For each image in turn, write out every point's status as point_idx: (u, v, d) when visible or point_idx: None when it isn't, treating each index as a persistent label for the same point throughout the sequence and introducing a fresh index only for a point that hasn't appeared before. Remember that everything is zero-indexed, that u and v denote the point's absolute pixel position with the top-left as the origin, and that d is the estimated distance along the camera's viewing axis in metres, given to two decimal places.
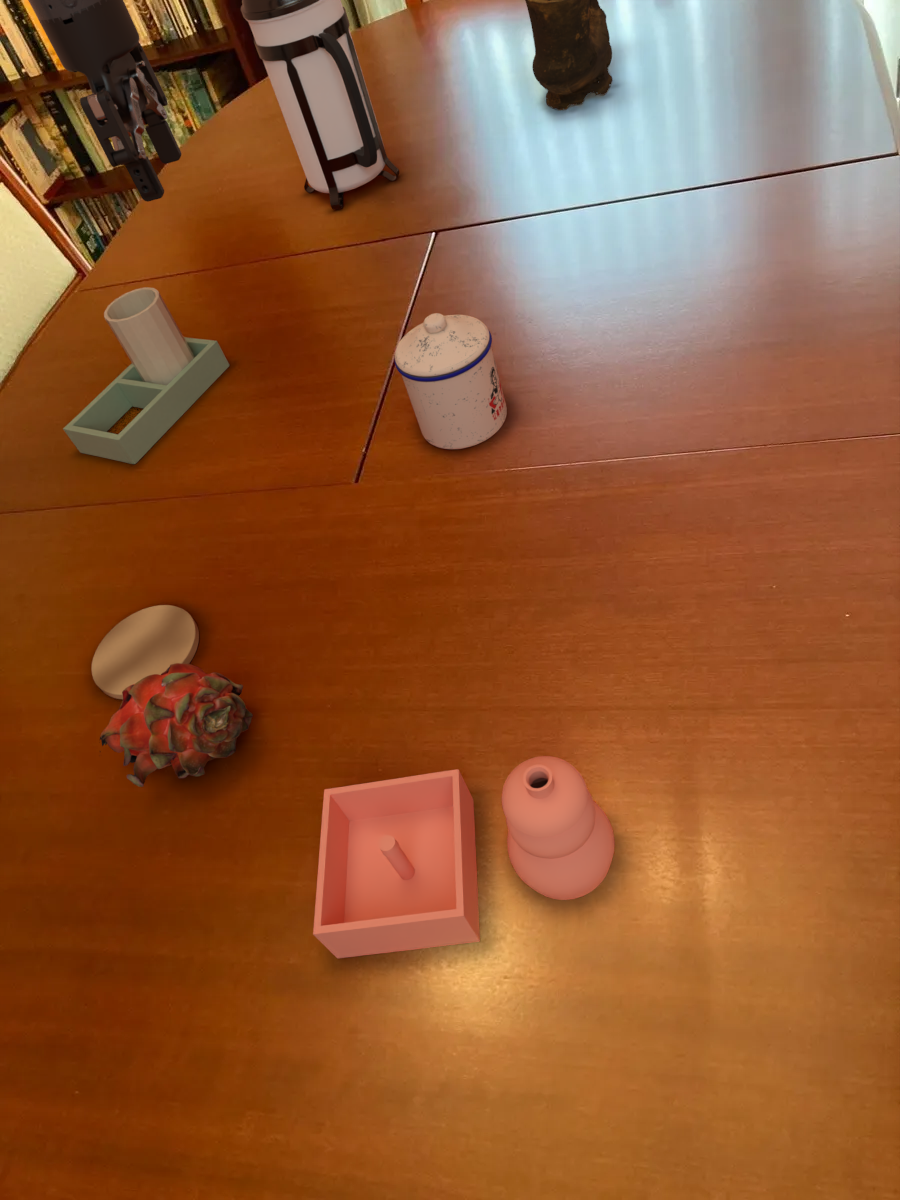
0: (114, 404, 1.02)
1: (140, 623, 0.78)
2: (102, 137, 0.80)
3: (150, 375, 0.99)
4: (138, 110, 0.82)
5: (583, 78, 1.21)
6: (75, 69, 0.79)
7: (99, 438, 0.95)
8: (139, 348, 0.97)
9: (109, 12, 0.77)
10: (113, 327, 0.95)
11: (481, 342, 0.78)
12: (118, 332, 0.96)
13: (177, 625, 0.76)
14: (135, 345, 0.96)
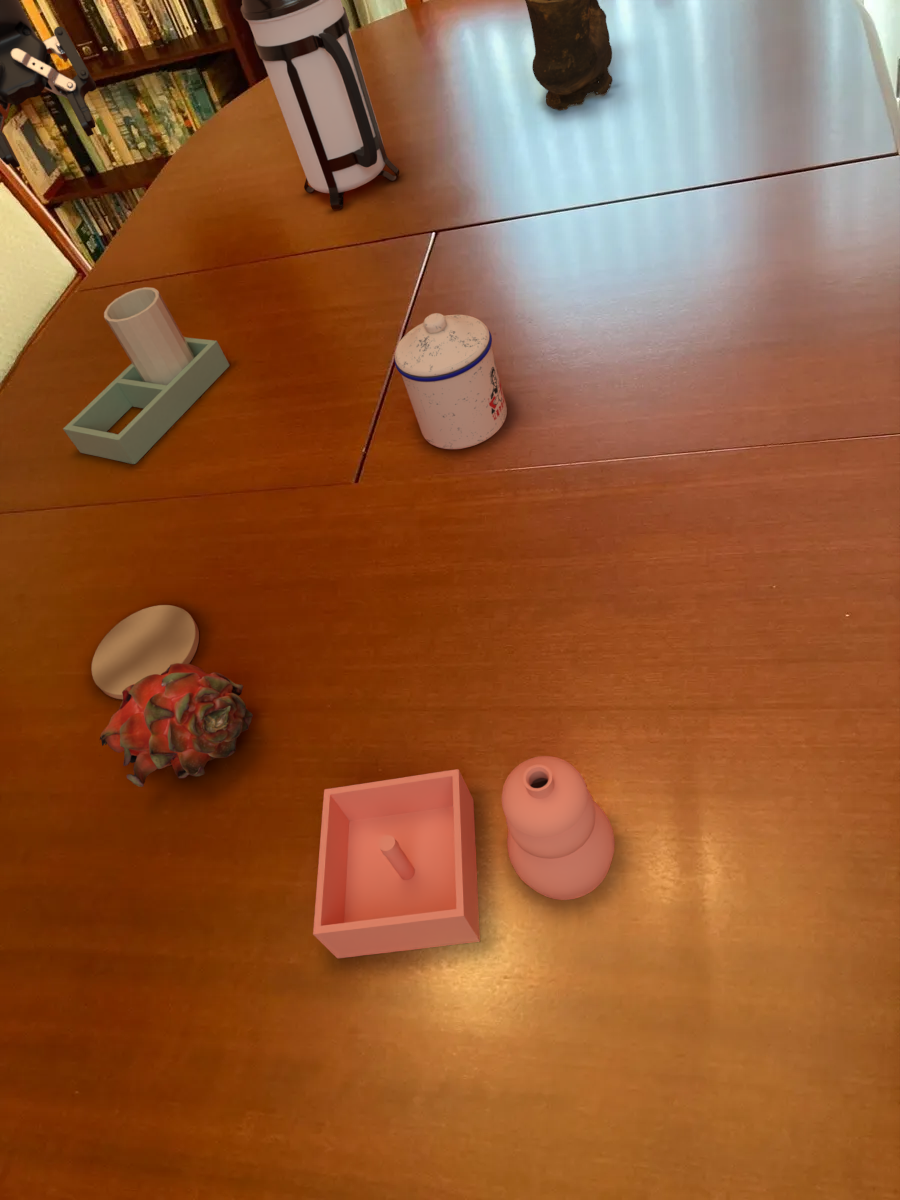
0: (114, 404, 1.02)
1: (140, 623, 0.78)
2: (79, 55, 0.93)
3: (150, 375, 0.99)
4: None
5: (583, 78, 1.21)
6: (23, 21, 0.92)
7: (99, 438, 0.95)
8: (139, 348, 0.97)
9: None
10: (113, 327, 0.95)
11: (481, 342, 0.78)
12: (118, 332, 0.96)
13: (177, 625, 0.76)
14: (135, 345, 0.96)
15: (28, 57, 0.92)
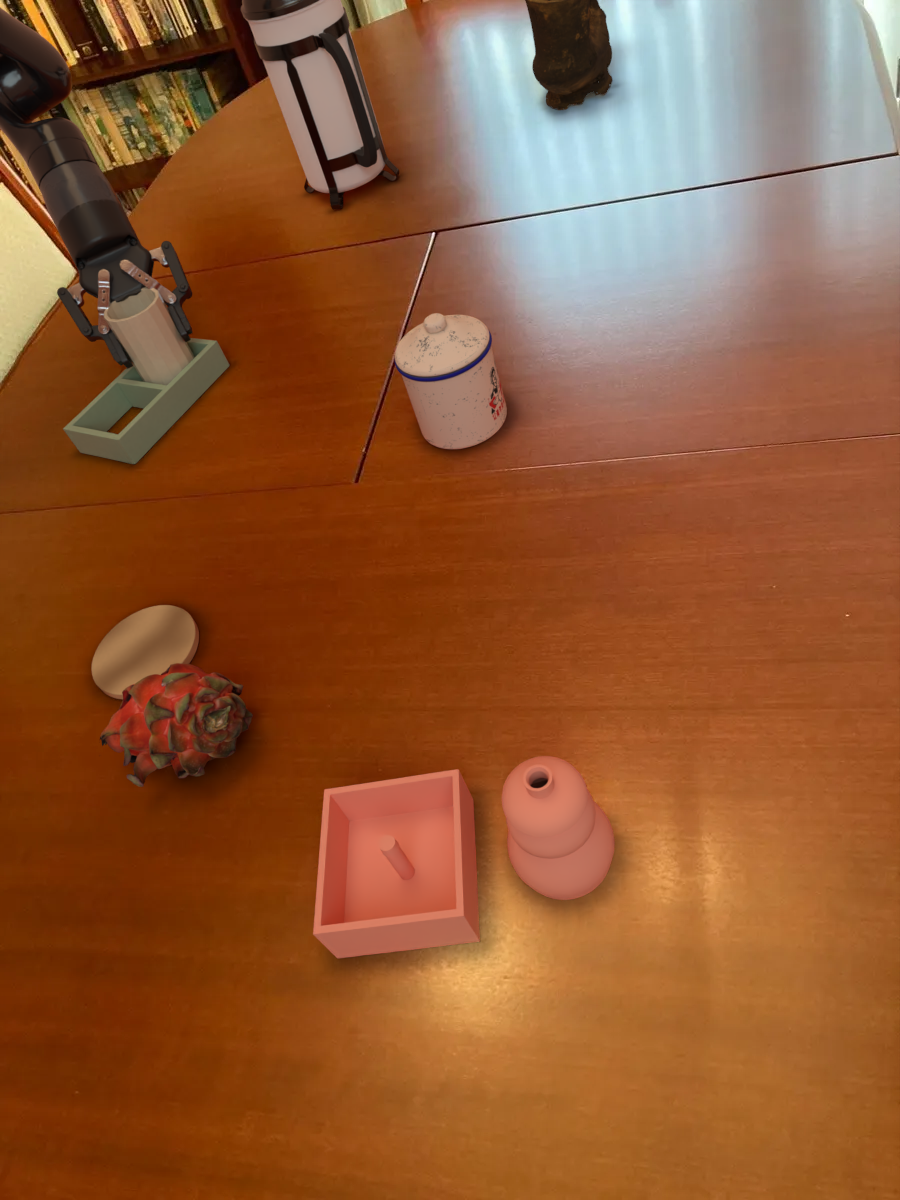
0: (114, 404, 1.02)
1: (140, 623, 0.78)
2: (181, 268, 0.99)
3: (150, 375, 0.99)
4: None
5: (583, 78, 1.21)
6: (131, 234, 0.97)
7: (99, 438, 0.95)
8: (139, 348, 0.97)
9: None
10: (113, 327, 0.95)
11: (481, 342, 0.78)
12: (118, 332, 0.96)
13: (177, 625, 0.76)
14: (135, 345, 0.96)
15: (136, 267, 0.97)
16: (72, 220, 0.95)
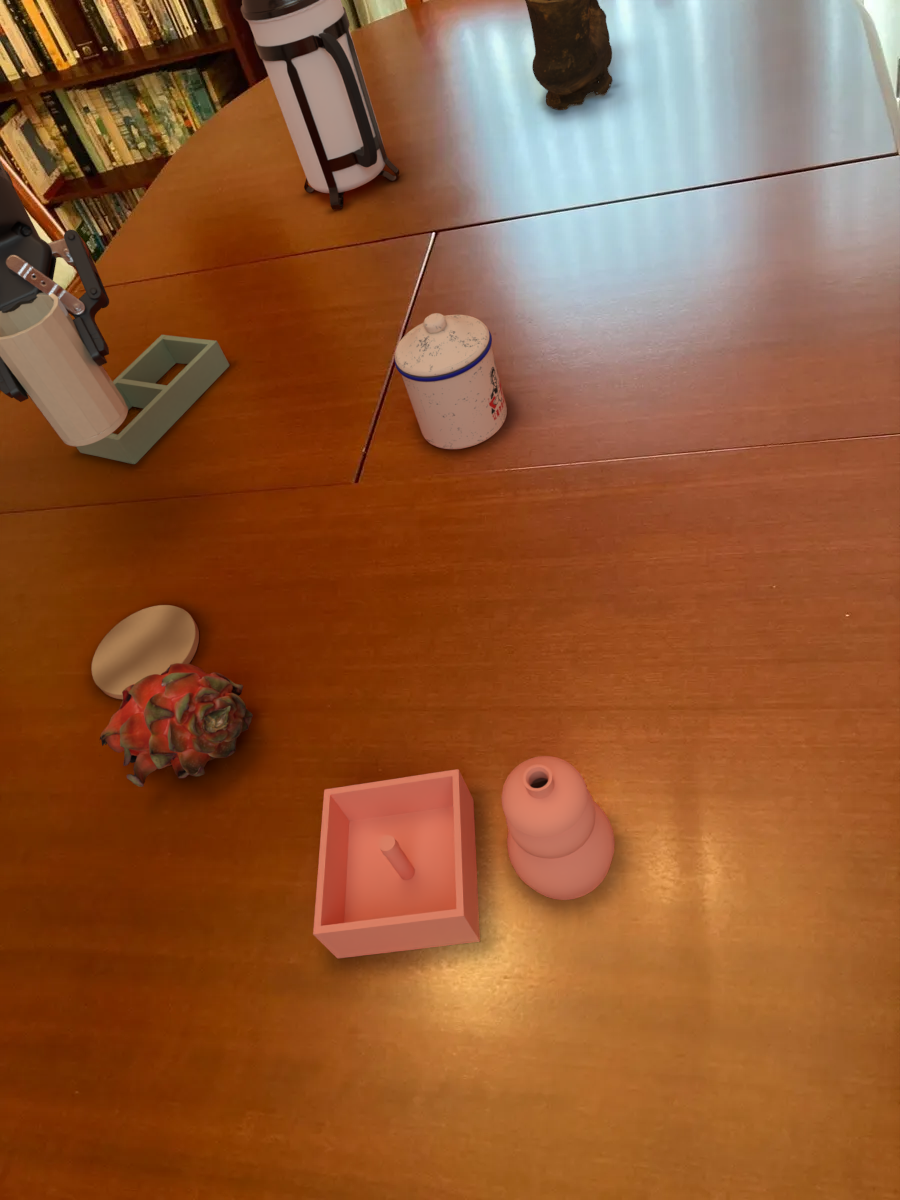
0: None
1: (140, 623, 0.78)
2: (92, 267, 0.73)
3: (51, 411, 0.74)
4: None
5: (583, 78, 1.21)
6: (21, 220, 0.72)
7: None
8: (33, 375, 0.71)
9: None
10: None
11: (481, 342, 0.78)
12: (2, 354, 0.70)
13: (177, 625, 0.76)
14: (27, 371, 0.71)
15: (28, 266, 0.71)
16: None
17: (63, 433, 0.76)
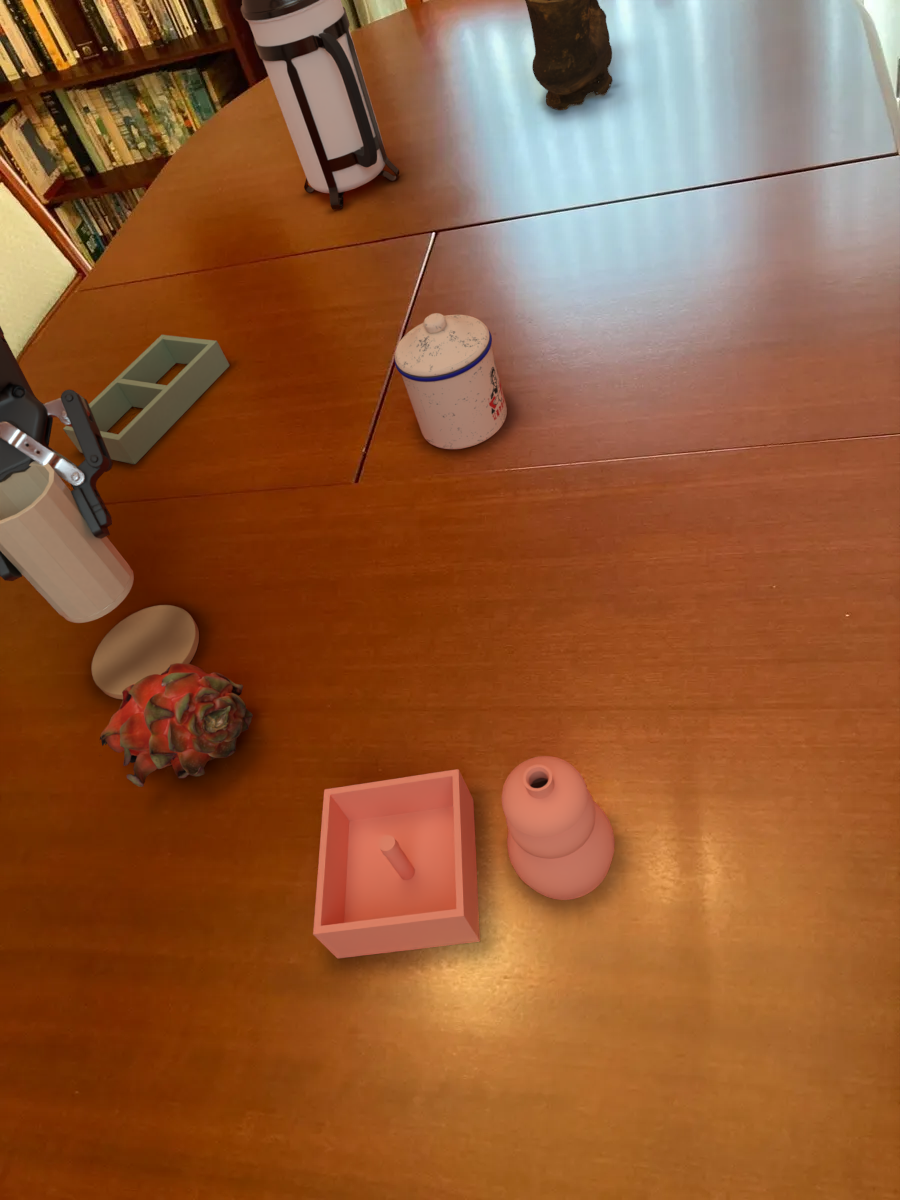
0: (114, 404, 1.02)
1: (140, 623, 0.78)
2: (93, 430, 0.65)
3: (47, 591, 0.65)
4: None
5: (583, 78, 1.21)
6: (13, 381, 0.63)
7: None
8: (25, 559, 0.63)
9: None
10: None
11: (481, 342, 0.78)
12: None
13: (177, 625, 0.76)
14: (19, 555, 0.62)
15: (21, 433, 0.63)
16: None
17: (61, 610, 0.67)
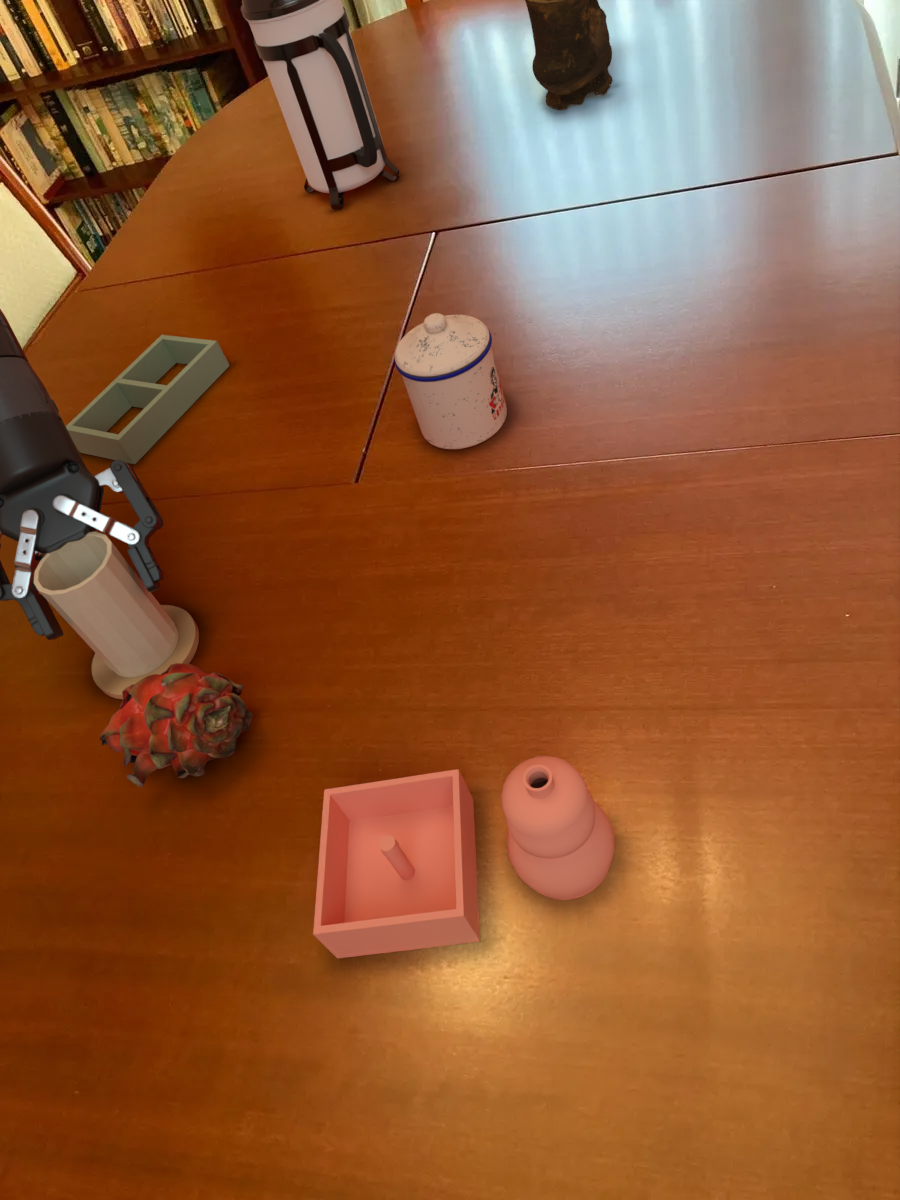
0: (114, 404, 1.02)
1: None
2: (143, 493, 0.70)
3: (102, 650, 0.71)
4: None
5: (583, 78, 1.21)
6: (69, 458, 0.68)
7: (99, 438, 0.95)
8: (84, 623, 0.68)
9: None
10: (46, 598, 0.67)
11: (481, 342, 0.78)
12: (53, 604, 0.67)
13: (177, 625, 0.76)
14: (78, 619, 0.68)
15: (76, 506, 0.68)
16: None
17: (113, 667, 0.73)
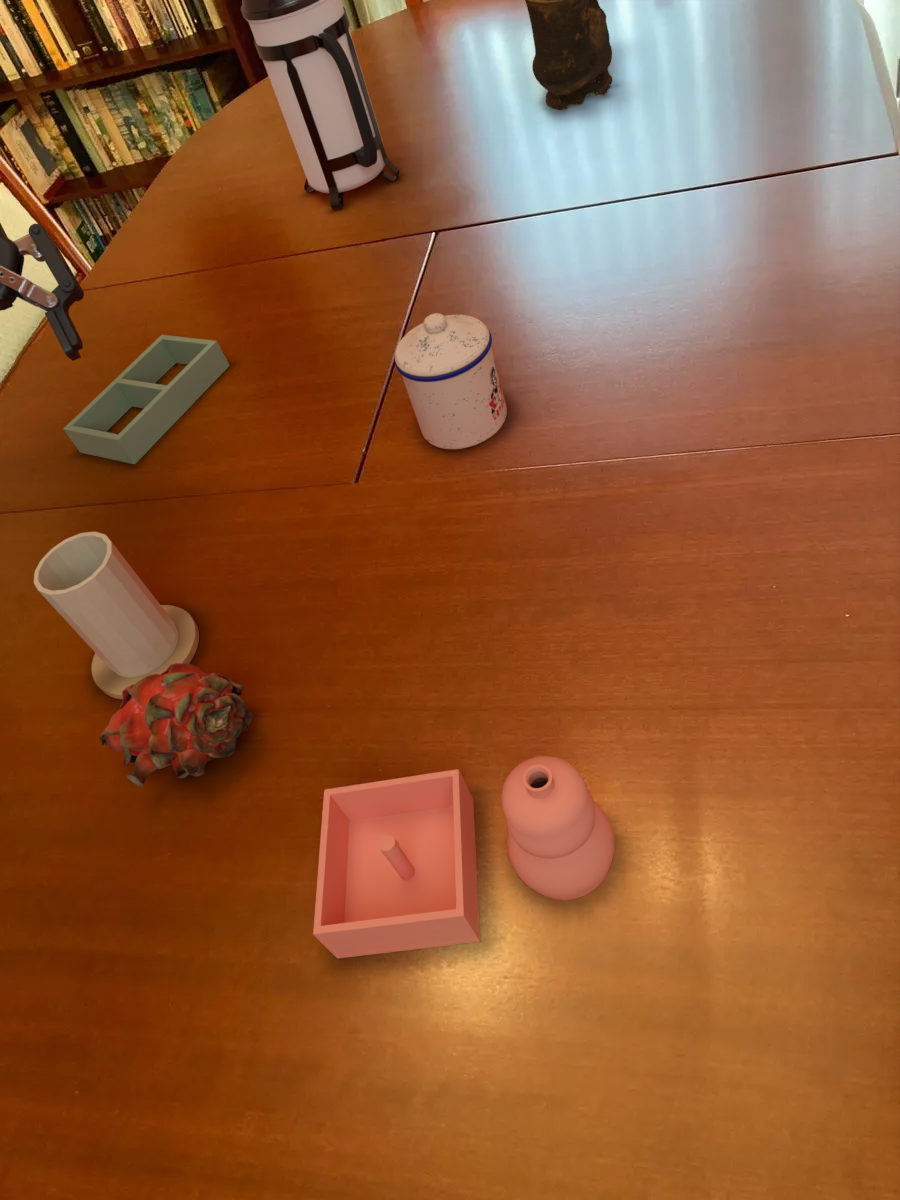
0: (114, 404, 1.02)
1: None
2: (62, 259, 0.71)
3: (102, 650, 0.71)
4: None
5: (583, 78, 1.21)
6: None
7: (99, 438, 0.95)
8: (84, 623, 0.68)
9: None
10: (46, 598, 0.67)
11: (481, 342, 0.78)
12: (53, 604, 0.67)
13: (177, 625, 0.76)
14: (78, 619, 0.68)
15: None
16: None
17: (113, 667, 0.73)
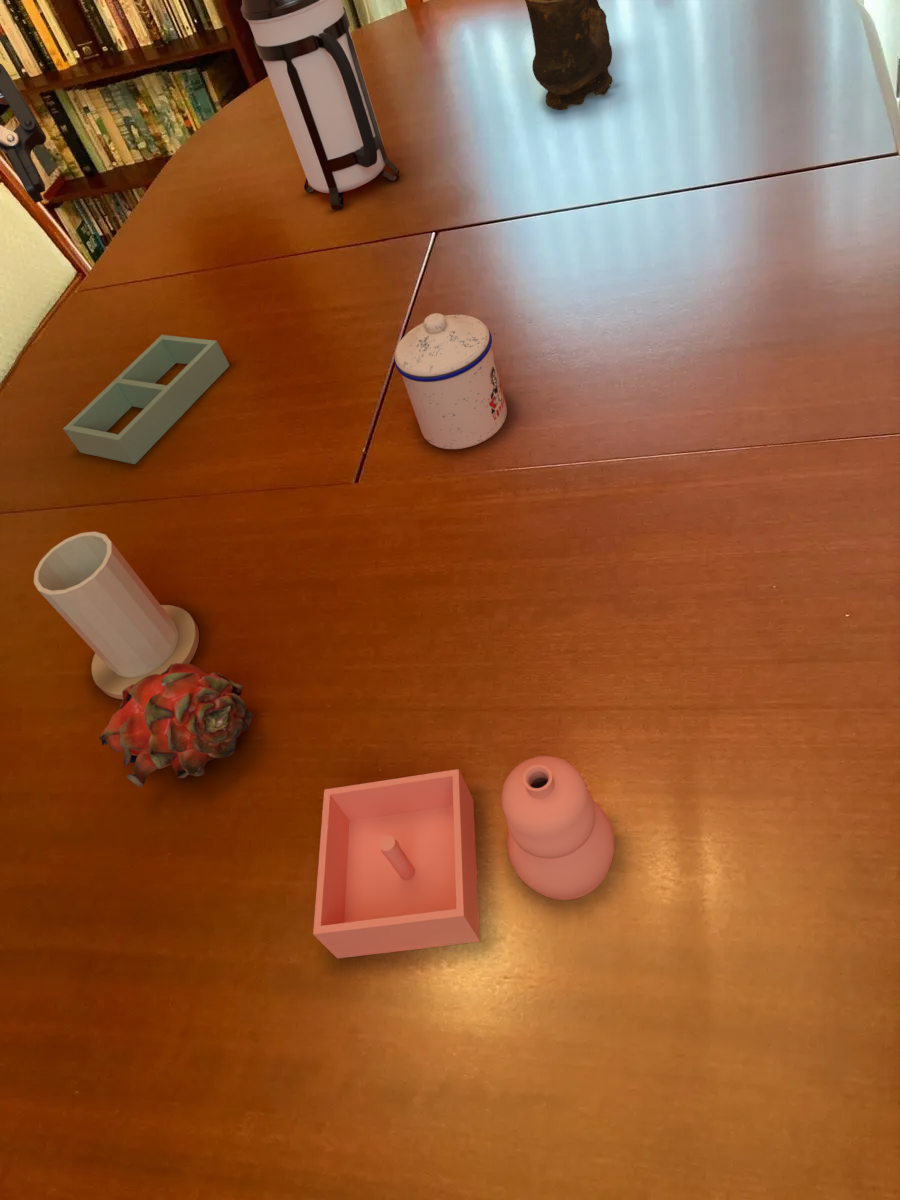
0: (114, 404, 1.02)
1: None
2: (23, 99, 0.72)
3: (102, 650, 0.71)
4: None
5: (583, 78, 1.21)
6: None
7: (99, 438, 0.95)
8: (84, 623, 0.68)
9: None
10: (46, 598, 0.67)
11: (481, 342, 0.78)
12: (53, 604, 0.67)
13: (177, 625, 0.76)
14: (78, 619, 0.68)
15: None
16: None
17: (113, 667, 0.73)
